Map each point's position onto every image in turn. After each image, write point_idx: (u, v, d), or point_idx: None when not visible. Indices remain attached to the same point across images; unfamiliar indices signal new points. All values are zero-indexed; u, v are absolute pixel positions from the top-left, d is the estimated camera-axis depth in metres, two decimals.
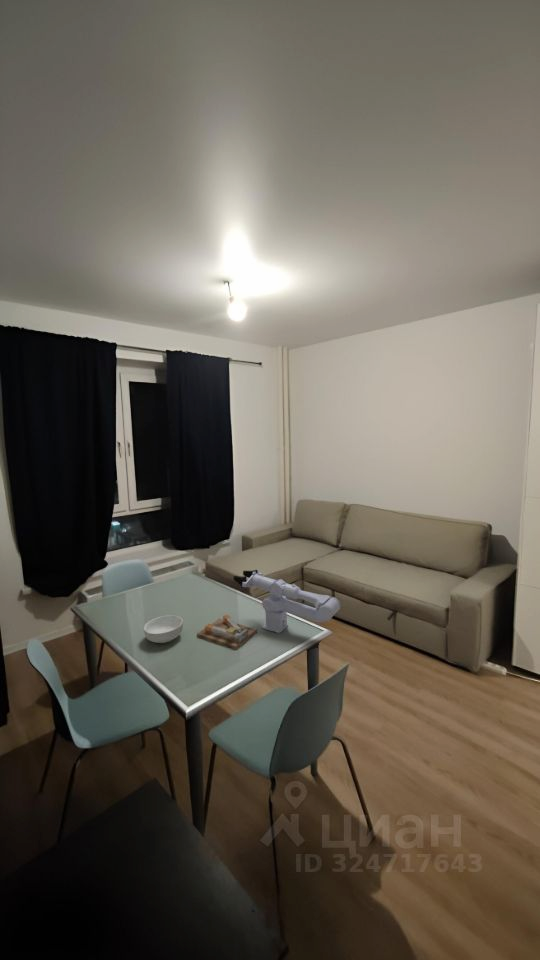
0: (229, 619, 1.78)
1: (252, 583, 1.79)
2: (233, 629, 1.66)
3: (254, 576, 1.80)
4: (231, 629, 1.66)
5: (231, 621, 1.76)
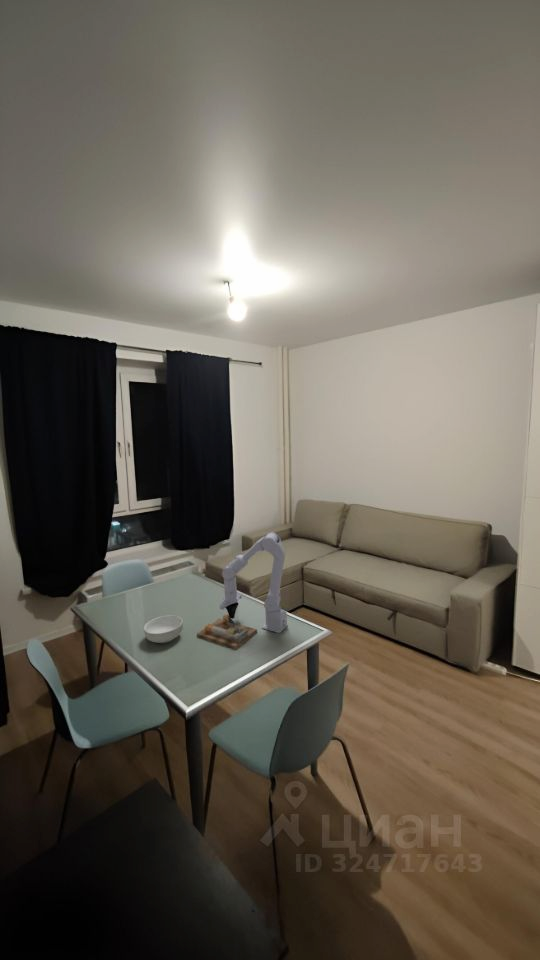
0: (229, 619, 1.78)
1: (228, 600, 1.79)
2: (233, 629, 1.66)
3: None
4: (231, 629, 1.66)
5: (231, 621, 1.76)
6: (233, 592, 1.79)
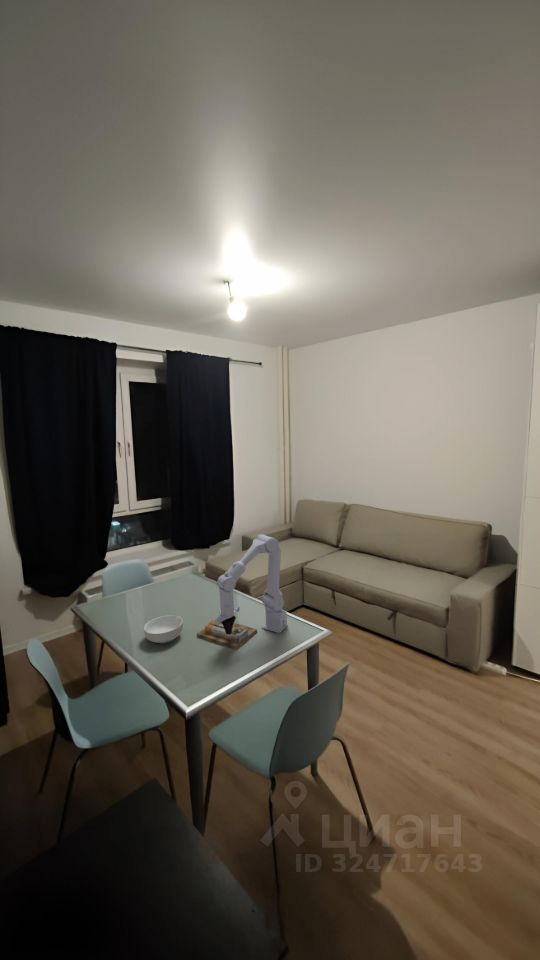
0: None
1: (224, 614, 1.60)
2: (234, 628, 1.66)
3: None
4: (232, 628, 1.67)
5: None
6: (230, 605, 1.60)
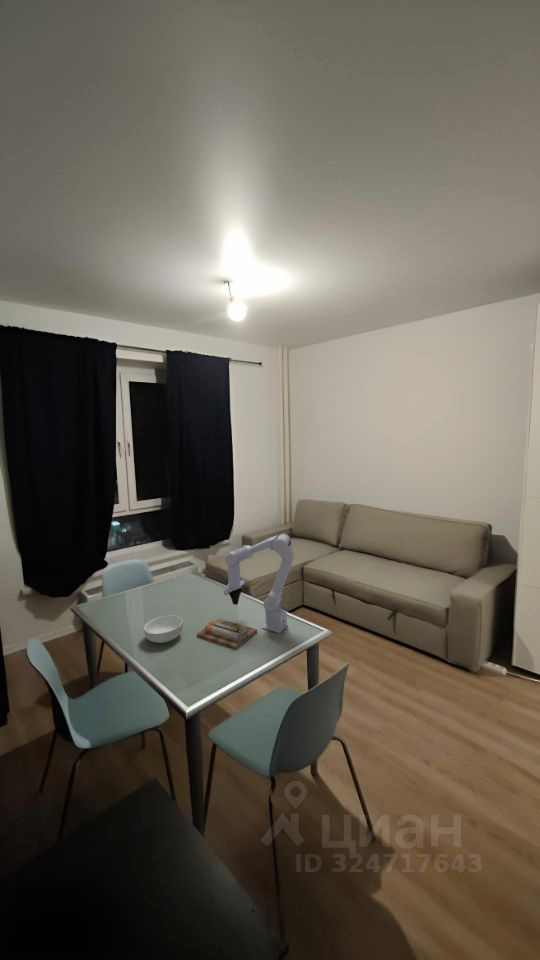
0: (218, 624, 1.74)
1: (231, 586, 1.79)
2: (238, 626, 1.69)
3: None
4: (235, 625, 1.69)
5: (222, 624, 1.73)
6: (237, 578, 1.79)
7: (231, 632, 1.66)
